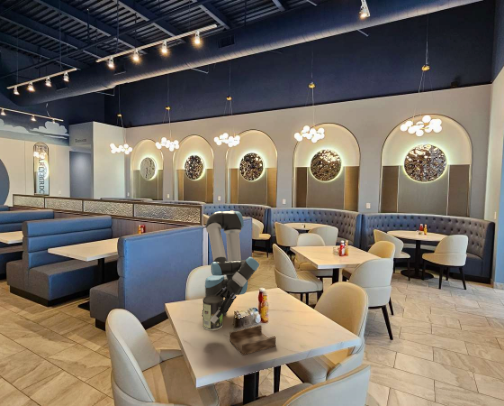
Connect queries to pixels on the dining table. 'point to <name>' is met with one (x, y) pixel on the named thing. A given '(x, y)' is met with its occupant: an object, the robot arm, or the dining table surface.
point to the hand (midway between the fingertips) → (208, 317)
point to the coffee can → (212, 312)
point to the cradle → (251, 340)
